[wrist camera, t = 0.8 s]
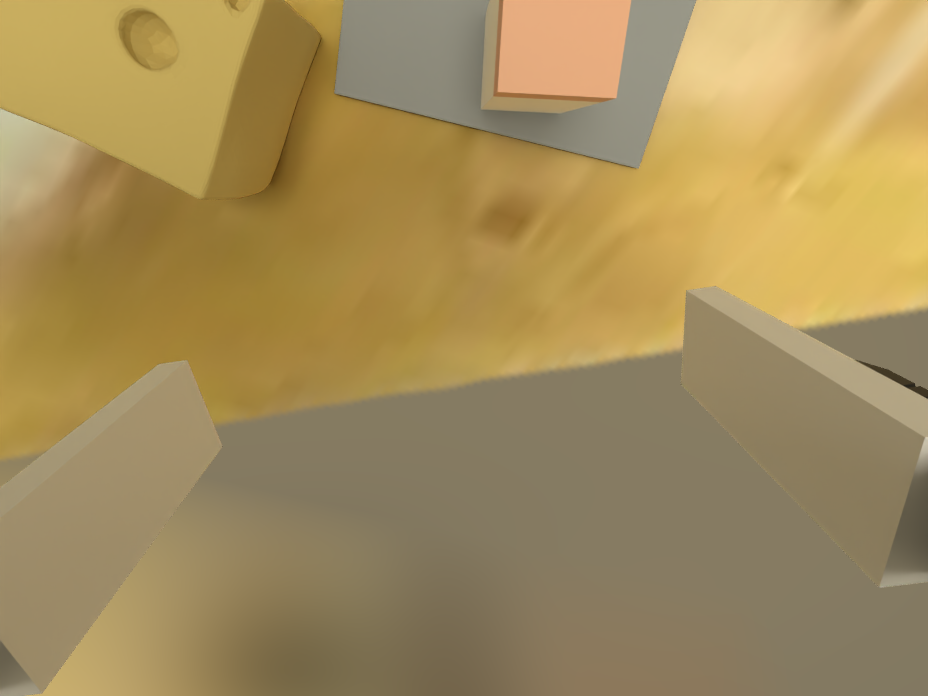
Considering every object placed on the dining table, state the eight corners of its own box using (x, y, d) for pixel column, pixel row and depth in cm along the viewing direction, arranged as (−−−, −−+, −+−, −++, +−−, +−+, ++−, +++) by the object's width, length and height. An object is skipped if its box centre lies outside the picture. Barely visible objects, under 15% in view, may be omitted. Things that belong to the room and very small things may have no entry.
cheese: (153, -73, 26) (-4, -189, 17) (336, 36, 29) (283, -13, 19) (111, 111, 30) (-39, 97, 21) (276, 196, 32) (208, 217, 23)
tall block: (480, 109, 30) (497, 91, 20) (485, 14, 28) (507, -60, 18) (559, 113, 30) (616, 98, 20) (570, 19, 28) (639, -51, 18)
